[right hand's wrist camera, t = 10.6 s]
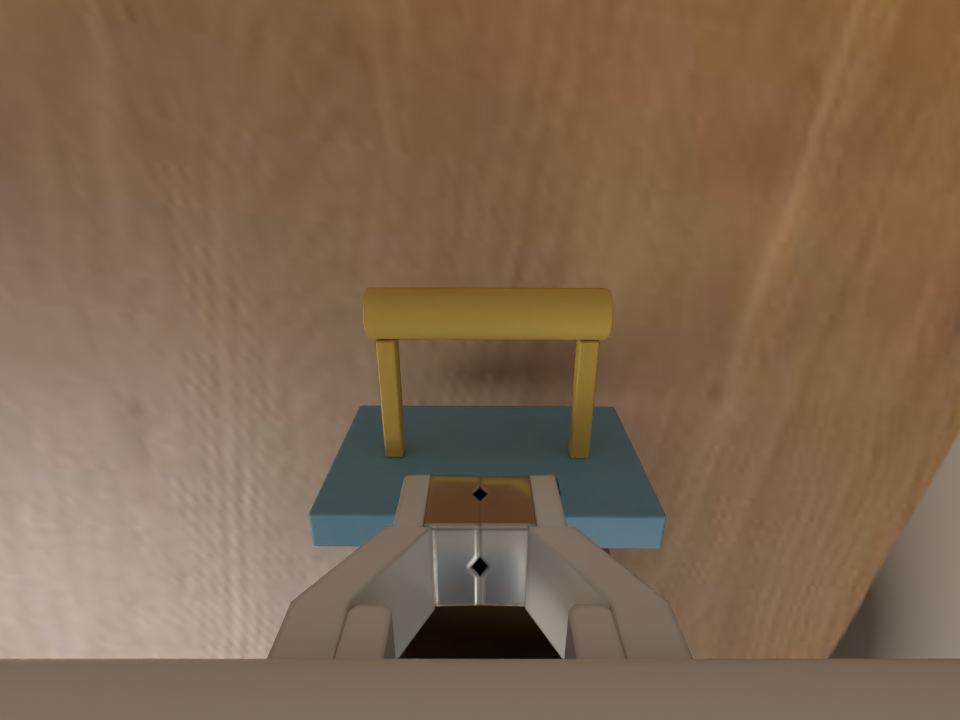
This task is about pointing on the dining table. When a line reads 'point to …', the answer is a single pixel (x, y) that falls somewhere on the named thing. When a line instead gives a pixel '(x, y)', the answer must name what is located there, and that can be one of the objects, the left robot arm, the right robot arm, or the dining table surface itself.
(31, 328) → the dining table surface
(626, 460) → the drawer
